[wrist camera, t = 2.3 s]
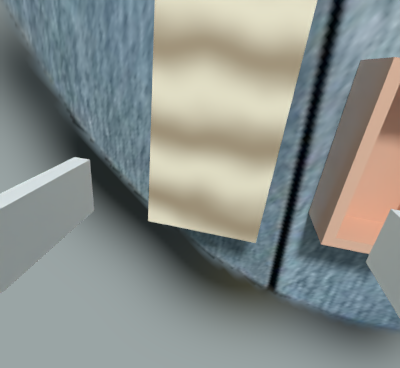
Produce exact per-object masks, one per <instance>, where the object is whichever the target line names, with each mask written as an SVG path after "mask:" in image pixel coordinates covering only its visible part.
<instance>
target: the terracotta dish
mask: <svg viewBox="0 0 400 368" xmlns="http://www.w3.org/2000/svg"><path fill="white" fill-rule="evenodd" d="M391 209H394V210H400V58H397V57H391V58H380V59H369V60H361V61H360V64H359V67H358V70H357V73H356V76H355V79H354V82H353V85H352V88H351V91H350V93H349V96H348V99H347V102H346V105H345V108H344V111H343V114H342V117H341V120H340V123H339V126H338V128H337V131H336V134H335V137H334V140H333V143H332V146H331V149H330V152H329V155H328V158H327V160H326V163H325V166H324V169H323V172H322V175H321V178H320V181H319V184H318V187H317V190H316V193H315V195H314V198H313V201H312V204H311V207H310V210H309V215H310V217H311V220H312V223H313V225H314V228H315V230H316V233H317V235H318V238H319V240H320V243H321V244H322V245H327V246H332V247H337V248H342V249H347V250H352V251H357V252H362V253H367V254H370V252H371V250H372V248H373V245H374V243H375V241H376V239H377V237H378V235H379V233H380V231H381V229H382V227H383V224H384V222H385V220H386V218H387V216H388V214H389V212H390V210H391Z"/></svg>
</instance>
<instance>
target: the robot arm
mask: <svg viewBox="0 0 400 368" xmlns="http://www.w3.org/2000/svg"><path fill="white" fill-rule="evenodd" d="M93 211H94V204H93V193H92V181H91V170H90V160H88V159H82V158H76V157H74V158H72V159H70V160H68V161H66V162H64V163H62V164H60V165H58V166H56V167H54V168H52V169H49V170H47V171H46V172H43V173H41V174H39V175H37V176H35V177H33V178H31V179H29V180H27V181H25V182H23V183H21V184H19V185H17V186H15V187H13V188H11V189H9V190H7V191H5V192H3V193H0V294H1V293H2V292H3V291H5V290H6V289H7V288H8V287H9V286H10V285H11V284H12V283H13V282H14V281H16V280H17V279H18V278H19V277H20V276H21V275H22V274H24V273H25V272H26V271H27V270H28V269H29V268H30V267H31V266H33V265H34V264H35V263H36V262H37V261H38V260H39V259H40V258H41V257H43V256H44V255H45V254H46V253H47V252H48V251H49V250H50V249H52V248H53V247H54V246H55V245H56V244H57V243H58V242H59V241H61V240H62V239H63V238H64V237H65V236H66V235H67V234H68V233H69V232H70V231H72V230H73V229H74V228H75V227H76V226H77V225H78V224H80V222H82V221H83V220H84V219H85V218H86V217H87V216H89V215H90V214H91V213H92V212H93ZM366 263H367V265H368V267H369V268H370V270H371V271H372V273H373V275H374V276H375V278H376V280H377V281H378V283H379V285H380V286H381V288H382V290H383V291H384V293H385V295H386V296H387V298H388V300H389V301H390V303H391V305H392V306H393V308H394V309H395V311H396V313H397V314H398V316H399V318H400V210H394V209H391V210H390V212H389V214H388V216H387V218H386V220H385V222H384V224H383V227H382V229H381V231H380V233H379V235H378V237H377V239H376V241H375V243H374V245H373V248H372V250H371V252H370V254H369V256H368V258H367V260H366Z"/></svg>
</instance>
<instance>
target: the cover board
mask: <svg viewBox="0 0 400 368" xmlns="http://www.w3.org/2000/svg"><path fill="white" fill-rule="evenodd" d="M316 3H317V0H155V15H154V47H153V80H152V113H151V146H150V178H149V211H148V221H151V222H156V223H161V224H166V225H171V226H175V227H180V228H185V229H190V230H195V231H200V232H205V233H209V234H214V235H219V236H224V237H229V238H234V239H239V240H243V241H248V242H253V243H256V239H257V235H258V231H259V227H260V223H261V220H262V216H263V212H264V208H265V204H266V200H267V196H268V192H269V188H270V184H271V180H272V176H273V172H274V168H275V165H276V161H277V157H278V153H279V149H280V145H281V141H282V137H283V133H284V129H285V125H286V121H287V117H288V113H289V110H290V106H291V102H292V98H293V94H294V90H295V86H296V82H297V78H298V74H299V70H300V66H301V62H302V58H303V55H304V51H305V47H306V43H307V39H308V35H309V31H310V27H311V23H312V19H313V15H314V11H315V7H316Z"/></svg>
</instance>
